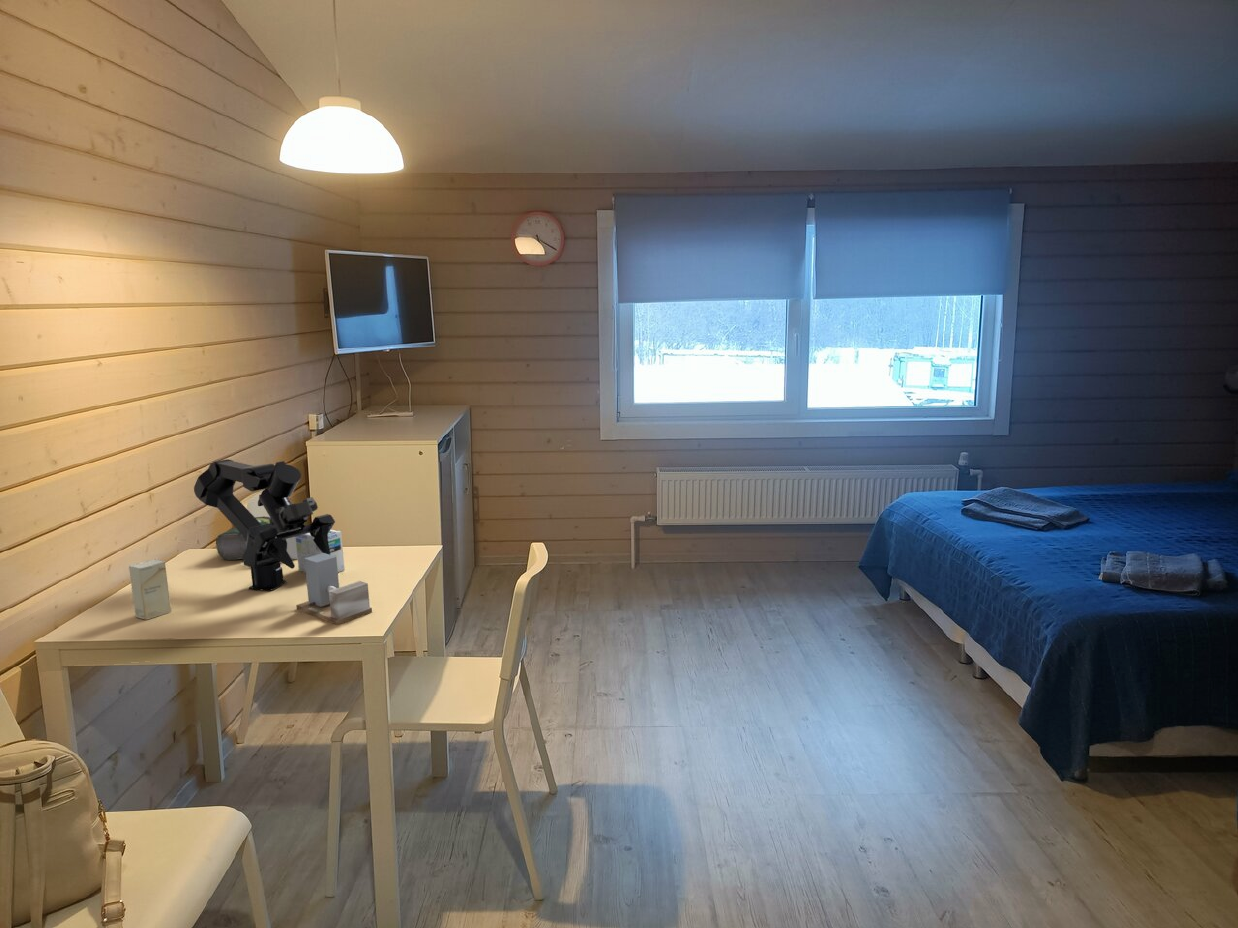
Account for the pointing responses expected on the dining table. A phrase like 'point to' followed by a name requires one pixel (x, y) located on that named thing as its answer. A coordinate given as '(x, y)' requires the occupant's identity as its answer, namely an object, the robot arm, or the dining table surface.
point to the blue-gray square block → (321, 578)
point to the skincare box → (150, 589)
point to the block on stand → (342, 604)
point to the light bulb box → (309, 548)
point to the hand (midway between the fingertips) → (311, 562)
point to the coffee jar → (234, 542)
